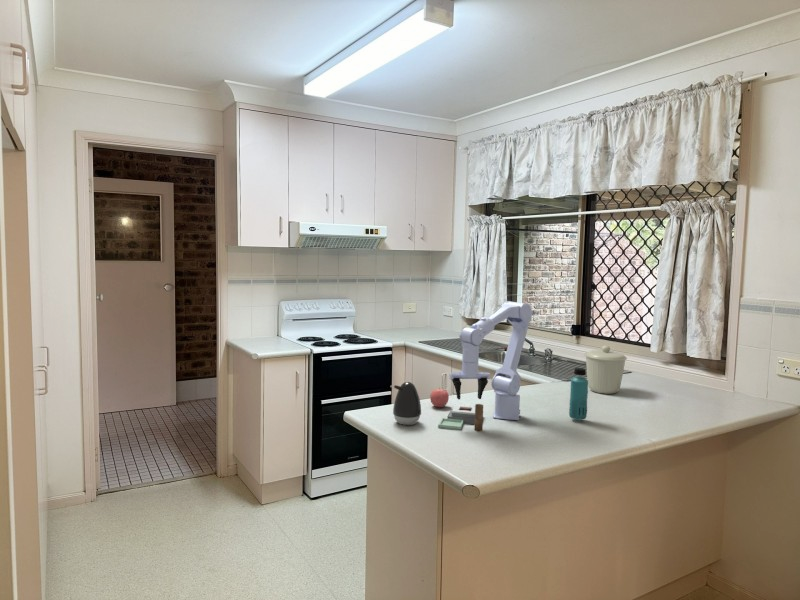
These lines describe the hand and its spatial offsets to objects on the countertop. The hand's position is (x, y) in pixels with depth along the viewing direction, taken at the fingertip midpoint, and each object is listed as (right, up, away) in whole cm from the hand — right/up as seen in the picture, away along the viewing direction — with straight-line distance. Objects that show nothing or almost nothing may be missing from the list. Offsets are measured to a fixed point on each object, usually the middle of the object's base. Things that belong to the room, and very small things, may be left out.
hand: (469, 398), depth 201 cm
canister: (+68, -7, +55) cm, 88 cm away
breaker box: (0, -9, +8) cm, 12 cm away
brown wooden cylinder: (+3, -10, -4) cm, 11 cm away
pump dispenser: (-22, -10, +2) cm, 24 cm away
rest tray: (-6, -10, +1) cm, 12 cm away
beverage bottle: (+42, -10, +10) cm, 44 cm away
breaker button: (0, -8, +8) cm, 11 cm away
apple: (-9, -8, +24) cm, 26 cm away
